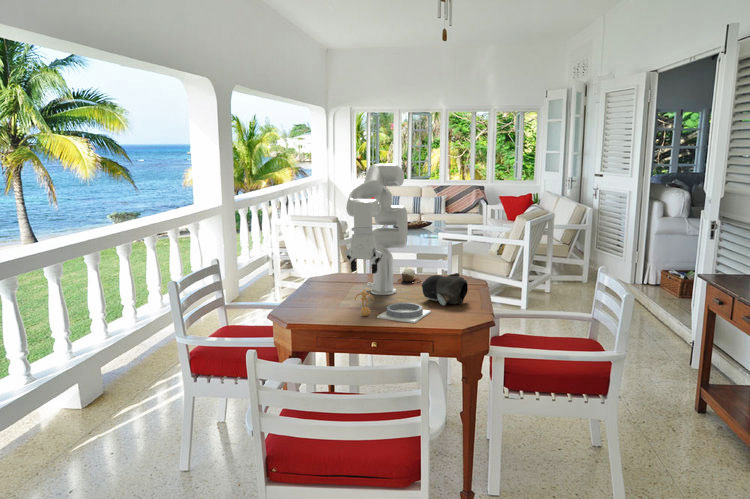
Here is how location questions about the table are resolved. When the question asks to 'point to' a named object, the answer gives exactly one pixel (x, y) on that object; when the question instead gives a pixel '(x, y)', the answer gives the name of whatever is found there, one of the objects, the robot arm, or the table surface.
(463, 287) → the dark grey rounded piece
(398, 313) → the ring stand
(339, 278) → the table surface
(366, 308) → the figurine
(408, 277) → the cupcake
